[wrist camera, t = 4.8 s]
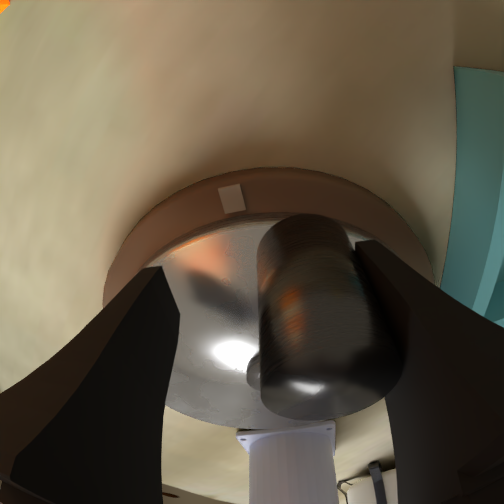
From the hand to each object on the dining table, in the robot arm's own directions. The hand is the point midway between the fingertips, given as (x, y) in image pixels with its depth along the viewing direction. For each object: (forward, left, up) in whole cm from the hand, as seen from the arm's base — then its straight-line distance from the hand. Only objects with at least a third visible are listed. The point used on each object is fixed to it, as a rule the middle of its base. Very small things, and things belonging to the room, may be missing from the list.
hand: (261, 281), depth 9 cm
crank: (-5, 0, -2) cm, 6 cm away
